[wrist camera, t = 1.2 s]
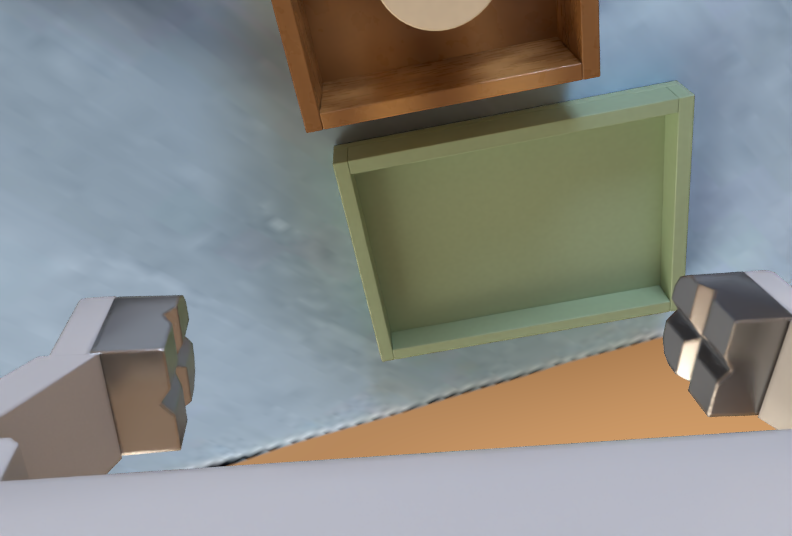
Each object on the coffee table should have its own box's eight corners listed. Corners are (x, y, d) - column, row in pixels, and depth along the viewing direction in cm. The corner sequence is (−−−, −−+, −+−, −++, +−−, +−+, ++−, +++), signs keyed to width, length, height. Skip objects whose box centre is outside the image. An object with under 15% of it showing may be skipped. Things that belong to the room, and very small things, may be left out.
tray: (676, 79, 37) (695, 94, 35) (668, 287, 45) (683, 309, 43) (333, 145, 38) (332, 163, 36) (380, 337, 46) (382, 362, 44)
